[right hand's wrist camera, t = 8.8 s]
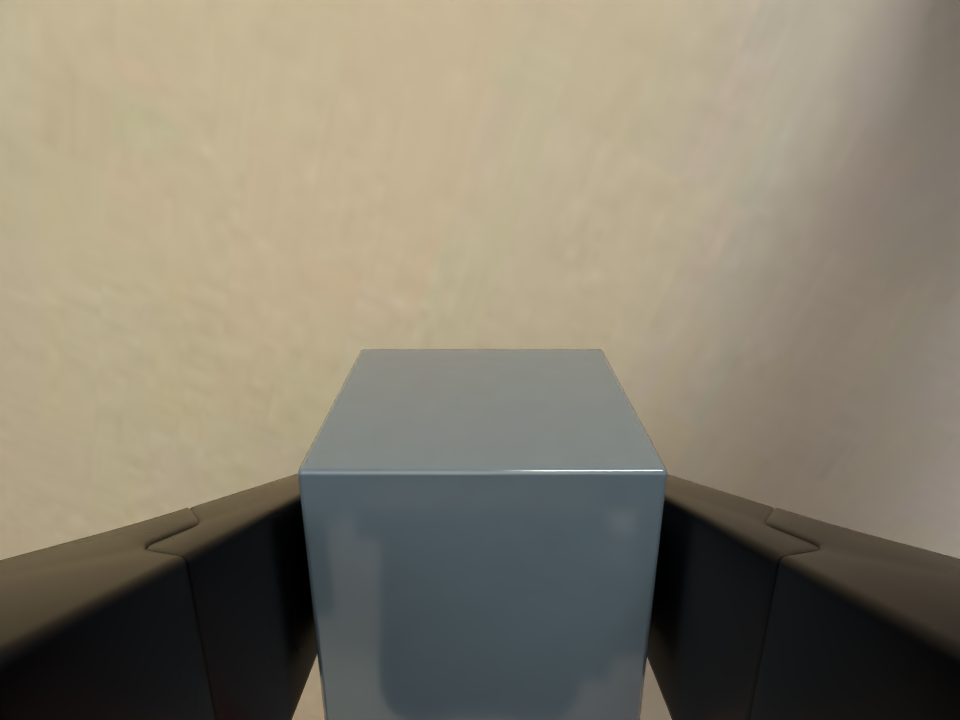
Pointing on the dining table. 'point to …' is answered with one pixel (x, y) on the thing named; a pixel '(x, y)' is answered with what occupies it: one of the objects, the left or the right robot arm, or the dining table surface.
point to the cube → (482, 538)
